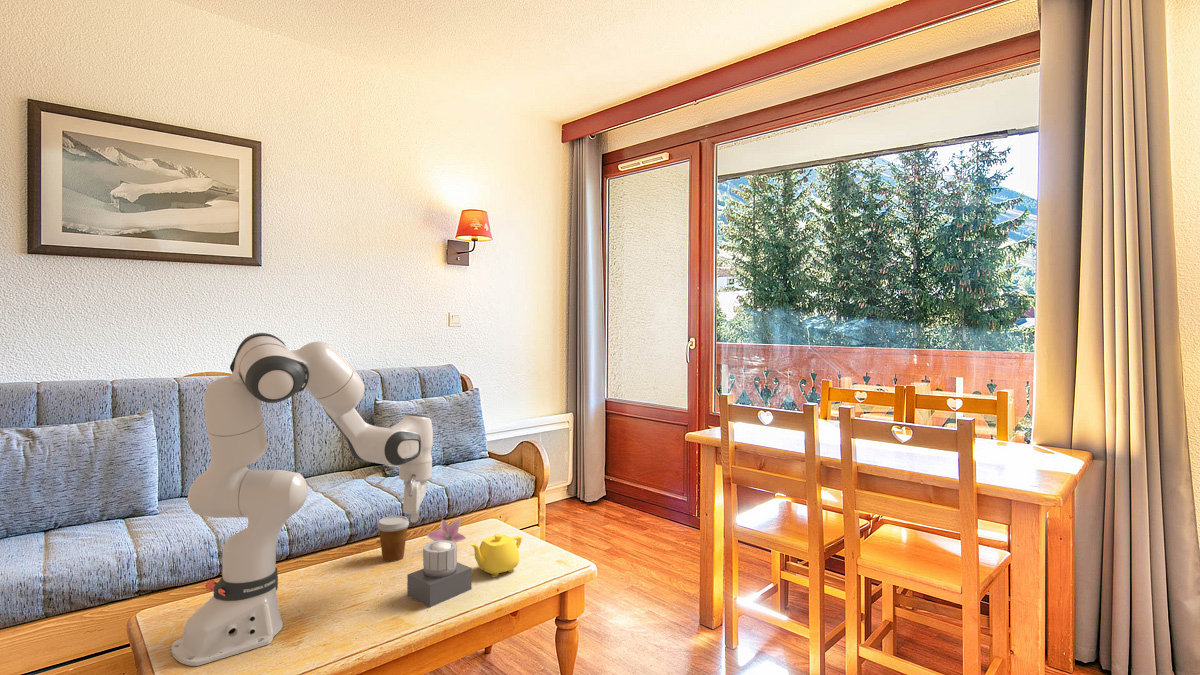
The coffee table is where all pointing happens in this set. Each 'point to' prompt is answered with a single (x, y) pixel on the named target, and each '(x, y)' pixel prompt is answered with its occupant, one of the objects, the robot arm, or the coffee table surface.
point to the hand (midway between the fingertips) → (414, 520)
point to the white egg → (441, 546)
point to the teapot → (498, 554)
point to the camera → (439, 576)
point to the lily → (447, 532)
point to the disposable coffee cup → (393, 537)
